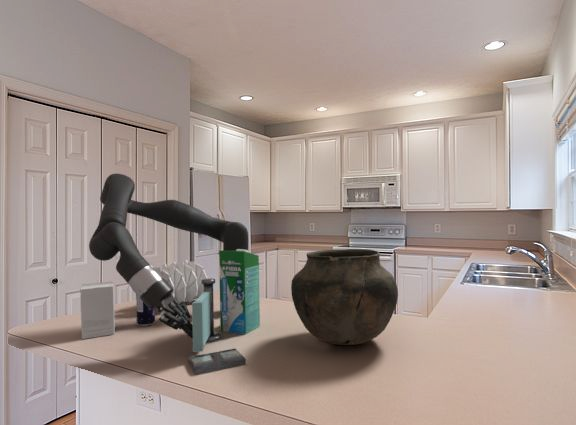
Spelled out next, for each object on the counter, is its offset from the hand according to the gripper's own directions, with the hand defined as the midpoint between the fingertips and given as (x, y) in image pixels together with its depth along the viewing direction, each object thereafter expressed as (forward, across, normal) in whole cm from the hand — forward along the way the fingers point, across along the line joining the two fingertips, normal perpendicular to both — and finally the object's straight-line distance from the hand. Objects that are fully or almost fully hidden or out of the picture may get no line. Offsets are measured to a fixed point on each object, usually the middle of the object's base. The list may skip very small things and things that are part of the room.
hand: (195, 335), depth 95 cm
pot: (+30, -10, +25) cm, 40 cm away
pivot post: (+3, -12, -3) cm, 13 cm away
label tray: (+8, +6, +2) cm, 11 cm away
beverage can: (-14, -24, -22) cm, 35 cm away
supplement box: (-21, -16, -30) cm, 40 cm away
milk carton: (+8, -21, +2) cm, 23 cm away
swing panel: (+3, -3, -1) cm, 4 cm away
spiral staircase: (-13, -50, -21) cm, 56 cm away
